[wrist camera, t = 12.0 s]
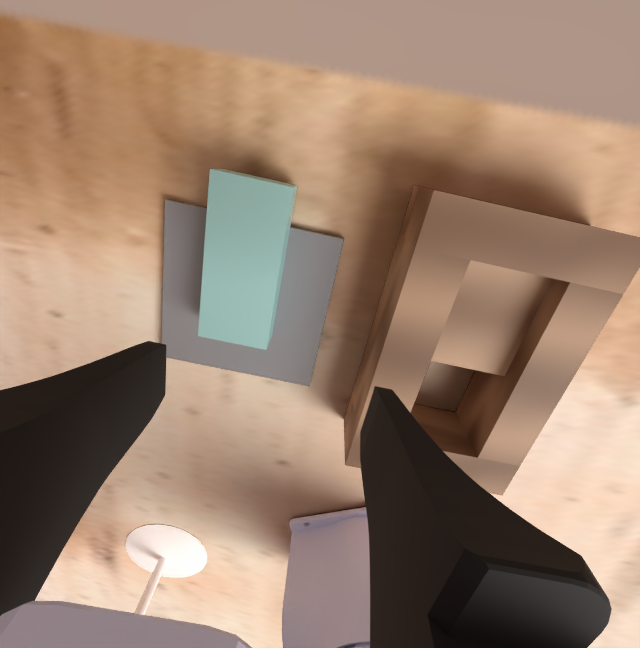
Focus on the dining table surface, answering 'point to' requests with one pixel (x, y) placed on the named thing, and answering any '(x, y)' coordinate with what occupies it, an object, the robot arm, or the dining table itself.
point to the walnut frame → (488, 323)
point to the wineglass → (164, 555)
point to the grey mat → (292, 309)
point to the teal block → (243, 256)
